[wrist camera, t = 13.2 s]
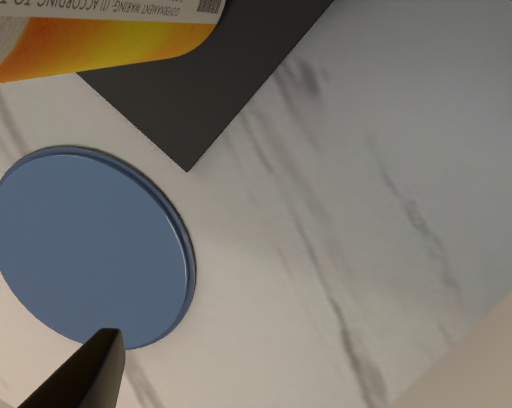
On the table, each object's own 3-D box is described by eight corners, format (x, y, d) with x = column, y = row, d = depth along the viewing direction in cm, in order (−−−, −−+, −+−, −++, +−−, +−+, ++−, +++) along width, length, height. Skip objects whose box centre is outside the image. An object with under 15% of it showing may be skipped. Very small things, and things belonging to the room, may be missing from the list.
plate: (233, 222, 22) (230, 226, 22) (150, 381, 27) (147, 387, 27) (15, 102, 22) (7, 104, 22) (-25, 283, 28) (-32, 287, 27)
